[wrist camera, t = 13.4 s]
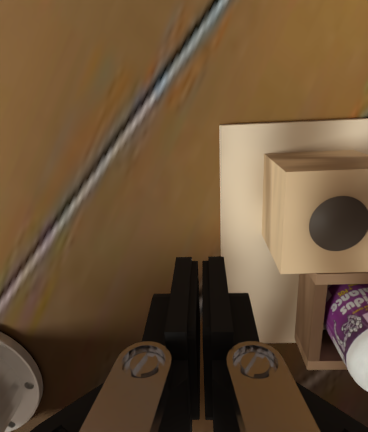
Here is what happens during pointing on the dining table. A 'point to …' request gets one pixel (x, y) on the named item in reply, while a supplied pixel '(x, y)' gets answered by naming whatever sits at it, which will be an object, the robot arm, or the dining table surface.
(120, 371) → the robot arm
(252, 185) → the board
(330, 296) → the pill bottle
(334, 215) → the oak block
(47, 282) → the dining table surface
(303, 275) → the walnut ring block
